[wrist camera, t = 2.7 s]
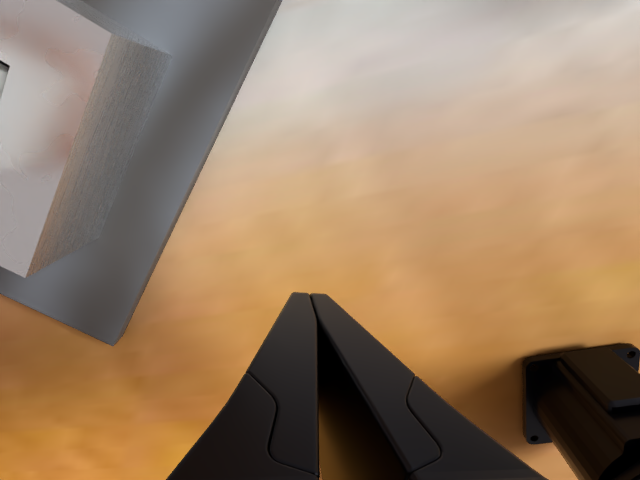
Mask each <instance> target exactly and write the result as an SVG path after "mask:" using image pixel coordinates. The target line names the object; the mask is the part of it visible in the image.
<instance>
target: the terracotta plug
mask: <svg viewBox="0 0 640 480" xmlns="http://www.w3.org/2000/svg"><path fill="white" fill-rule="evenodd" d="M8 71H9V68H8V67H6V66H4V65H3V64H1V63H0V100H1V96H2V93H3V89H4V85H5V82H6V78H7V75H8Z"/></svg>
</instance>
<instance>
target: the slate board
mask: <svg viewBox="0 0 640 480" xmlns="http://www.w3.org/2000/svg"><path fill="white" fill-rule="evenodd" d="M81 1H83V2H85V3H86V4H88V5H90V6H91V7H93V8H95V9H96V10H98V11H100V12H101V13H103V14H105V15H106V16H108V17H110V18H111V19H113V20H115V21H116V22H118V23H119V24H121V25H123V26H124V27H126V28H128V29H129V30H131V31H133V32H134V33H136V34H138V35H139V36H141V37H143V38H144V39H146V40H148V41H149V42H151V43H153V44H154V45H156V46H157V47H159V48H161V49H162V50H164V51H166V52H167V53H169V54H171V55H172V56H173V57H172V59H171V62H170V64H169V67H168V69H167V71H166V74H165V76H164V79H163V81H162V84H161V86H160V89H159V91H158V93H157V96H156V98H155V101H154V103H153V106H152V108H151V111H150V113H149V115H148V118H147V120H146V123H145V125H144V128H143V130H142V133H141V135H140V137H139V140H138V142H137V145H136V147H135V150H134V152H133V155H132V157H131V160H130V162H129V164H128V167H127V169H126V172H125V174H124V177H123V179H122V182H121V184H120V186H119V189H118V191H117V194H116V196H115V199H114V201H113V204H112V206H111V208H110V211H109V213H108V216H107V218H106V221H105V223H104V226H103V228H102V230H101V233H100V235H99V238H97V239H95V240H94V241H92V242H90V243H88V244H86V245H85V246H83V247H81V248H79V249H77V250H75V251H74V252H72V253H70V254H68V255H66V256H65V257H63V258H61V259H59V260H57V261H55V262H54V263H52V264H50V265H48V266H46V267H45V268H43V269H41V270H39V271H37V272H35V273H34V274H32V275H30V276H28V277H26V278H24V277H22V276H20V275H18V274H16V273H14V272H12V271H10V270H8V269H5V268H3V267H1V266H0V294H2V295H4V296H6V297H8V298H11V299H13V300H15V301H17V302H19V303H21V304H23V305H26V306H28V307H30V308H32V309H34V310H36V311H38V312H41V313H43V314H45V315H47V316H49V317H51V318H53V319H56V320H58V321H60V322H62V323H64V324H66V325H68V326H71V327H73V328H75V329H77V330H79V331H81V332H83V333H86V334H88V335H90V336H92V337H94V338H96V339H98V340H101V341H103V342H105V343H107V344H109V345H111V346H114V345H115V344H116V343H117V342H118V340H119V339H120V338H121V337H122V336H123V334H124V331H125V329H126V327H127V325H128V323H129V321H130V319H131V317H132V315H133V313H134V311H135V308H136V306H137V304H138V302H139V300H140V298H141V296H142V294H143V292H144V290H145V287H146V285H147V283H148V281H149V279H150V277H151V275H152V273H153V271H154V269H155V266H156V264H157V262H158V260H159V258H160V256H161V254H162V252H163V250H164V248H165V245H166V243H167V241H168V239H169V237H170V235H171V233H172V231H173V229H174V227H175V224H176V222H177V220H178V218H179V216H180V214H181V212H182V210H183V208H184V206H185V203H186V201H187V199H188V197H189V195H190V193H191V191H192V189H193V187H194V185H195V183H196V180H197V178H198V176H199V174H200V172H201V170H202V168H203V166H204V164H205V162H206V159H207V157H208V155H209V153H210V151H211V149H212V147H213V145H214V143H215V141H216V138H217V136H218V134H219V132H220V130H221V128H222V126H223V124H224V122H225V120H226V117H227V115H228V113H229V111H230V109H231V107H232V105H233V103H234V101H235V99H236V96H237V94H238V92H239V90H240V88H241V86H242V84H243V82H244V80H245V78H246V76H247V73H248V71H249V69H250V67H251V65H252V63H253V61H254V59H255V57H256V55H257V52H258V50H259V48H260V46H261V44H262V42H263V40H264V38H265V36H266V34H267V31H268V29H269V27H270V25H271V23H272V21H273V19H274V17H275V15H276V13H277V10H278V8H279V6H280V4H281V2H282V0H81ZM0 63H1V64H3V65H4V66H6V67H8V68H9V67H10V65H8V64H6V63H4V62H3V61H1V60H0Z"/></svg>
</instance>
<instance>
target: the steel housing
mask: <svg viewBox="0 0 640 480" xmlns="http://www.w3.org/2000/svg"><path fill="white" fill-rule="evenodd" d="M172 57H173V56H172V55H171V54H169V53H167V52H166V51H164V50H162V49H161V48H159V47H157V46H156V45H154V44H153V43H151V42H149V41H148V40H146V39H144V38H143V37H141V36H139V35H138V34H136V33H134V32H133V31H131V30H129V29H128V28H126V27H124V26H123V25H121V24H119V23H118V22H116V21H115V20H113V19H111V18H110V17H108V16H106V15H105V14H103V13H101V12H100V11H98V10H96V9H95V8H93V7H91V6H90V5H88V4H86V3H85V2H83V1H81V0H0V60H1V61H3V62H4V63H6V64H8V65H10V67H9V71H8V75H7V78H6V82H5V85H4V89H3V93H2V96H1V100H0V266H1V267H3V268H5V269H8V270H10V271H12V272H14V273H16V274H18V275H20V276H22V277H24V278H26V277H28V276H30V275H32V274H34V273H35V272H37V271H39V270H41V269H43V268H45V267H46V266H48V265H50V264H52V263H54V262H55V261H57V260H59V259H61V258H63V257H65V256H66V255H68V254H70V253H72V252H74V251H75V250H77V249H79V248H81V247H83V246H85V245H86V244H88V243H90V242H92V241H94V240H95V239H97V238H99V235H100V233H101V230H102V228H103V226H104V223H105V221H106V218H107V216H108V213H109V211H110V208H111V206H112V204H113V201H114V199H115V196H116V194H117V191H118V189H119V186H120V184H121V182H122V179H123V177H124V174H125V172H126V169H127V167H128V164H129V162H130V160H131V157H132V155H133V152H134V150H135V147H136V145H137V142H138V140H139V137H140V135H141V133H142V130H143V128H144V125H145V123H146V120H147V118H148V115H149V113H150V111H151V108H152V106H153V103H154V101H155V98H156V96H157V93H158V91H159V89H160V86H161V84H162V81H163V79H164V76H165V74H166V71H167V69H168V67H169V64H170V62H171V59H172Z"/></svg>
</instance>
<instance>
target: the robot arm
mask: <svg viewBox="0 0 640 480" xmlns="http://www.w3.org/2000/svg"><path fill="white" fill-rule="evenodd" d="M628 352H629V353H628ZM627 353H628V354H627ZM639 360H640V350H639V349H638V348H636V347H635V346H634V345H632V344H629V343H626V344H619V345H612V346H605V347H598V348H591V349H583V350H576V351H569V352H562V353H555V354H548V355H540V356H533V357H529V358H527V359H525V360H524V361H523V364H522V376H523V435H524V437H525V439H526V441H527V442H528V443H529V444H542V443H550V442H553V443H554V445H555V446H556V447H557V449H558V450H559V452H560V453H561V455H562V456H563V458H564V459H565V461H566V462H567V464H568V465H569V467H570V468H571V469H572V471H573V472H574V474H575V475H576V477H577V478H578V480H640V374H639V373H638V370H639ZM534 364H535V365H534ZM532 365H534V366H533V367H531V366H532ZM319 462H320V468H321V473H322V479H323V480H548V479H546V478H545V477H543V476H542V475H541V474H539V473H538V472H536V471H535V470H534V469H532V468H531V467H530V466H528V465H527V464H526V463H524V462H523V461H522V460H520V459H519V458H518V457H516V456H515V455H514V454H513V453H511V452H510V451H509V450H507V449H506V448H505V447H503V446H502V445H501V444H500V443H498V442H497V441H496V440H494V439H493V438H492V437H490V436H489V435H488V434H486V433H485V432H484V431H483V430H481V429H480V428H479V427H477V426H476V425H475V424H473V423H472V422H471V421H470V420H468V419H467V418H466V417H465V416H463V415H462V414H461V413H460V412H458V411H457V410H456V409H455V408H453V407H452V406H451V405H450V404H448V403H447V402H446V401H445V400H444V399H443V398H441V397H440V396H439V395H438V394H437V393H436V392H434V391H433V390H432V389H431V388H430V387H429V386H428V385H426V384H425V383H424V382H423V381H422V380H421V379H420V378H419V377H418V376H415V374H414V373H413V372H412V371H411V370H410V369H409V368H408V367H406V366H405V365H404V364H403V363H402V362H401V361H400V360H399V359H398V358H396V357H395V356H394V355H393V354H392V353H391V352H390V351H389V350H388V349H387V348H385V347H384V346H383V345H382V344H381V343H380V342H379V341H378V340H377V339H375V338H374V337H373V336H372V335H371V334H370V333H369V332H368V331H367V330H366V329H364V328H363V327H362V326H361V325H360V324H359V323H358V322H357V321H356V320H355V319H353V318H352V317H351V316H350V315H349V314H348V313H347V312H346V311H345V310H343V309H342V308H341V307H340V306H339V305H338V304H337V303H336V302H335V301H334V300H332V299H331V298H330V297H329V296H328V295H327V294H317V293H312V294H310V295H309V294H308V293H299V292H293V293H292V294H291V295H290V297H289V299H288V301H287V302H286V304H285V306H284V307H283V309H282V311H281V313H280V314H279V316H278V318H277V319H276V321H275V323H274V325H273V326H272V328H271V330H270V331H269V333H268V335H267V337H266V338H265V340H264V342H263V343H262V345H261V347H260V349H259V350H258V352H257V354H256V355H255V357H254V359H253V361H252V362H251V364H250V366H249V367H248V369H247V371H246V374H244V376H243V377H242V379H241V381H240V382H239V384H238V386H237V387H236V389H235V390H234V392H233V394H232V395H231V397H230V398H229V400H228V401H227V403H226V404H225V406H224V407H223V408H222V410H221V411H220V412H219V414H218V415H217V416H216V418H215V419H214V420H213V422H212V423H211V424H210V426H209V427H208V428H207V429H206V431H205V432H204V433H203V434H202V436H201V437H200V438H199V439H198V441H197V442H196V443H195V444H194V445H193V447H192V448H191V449H190V450H189V452H188V453H187V454H186V455H185V457H184V458H183V459H182V460H181V462H180V463H179V464H178V465H177V466H176V468H175V469H174V470H173V471H172V473H171V474H170V475H169V476H168V478H167V479H166V480H319V477H320V470H319Z"/></svg>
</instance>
